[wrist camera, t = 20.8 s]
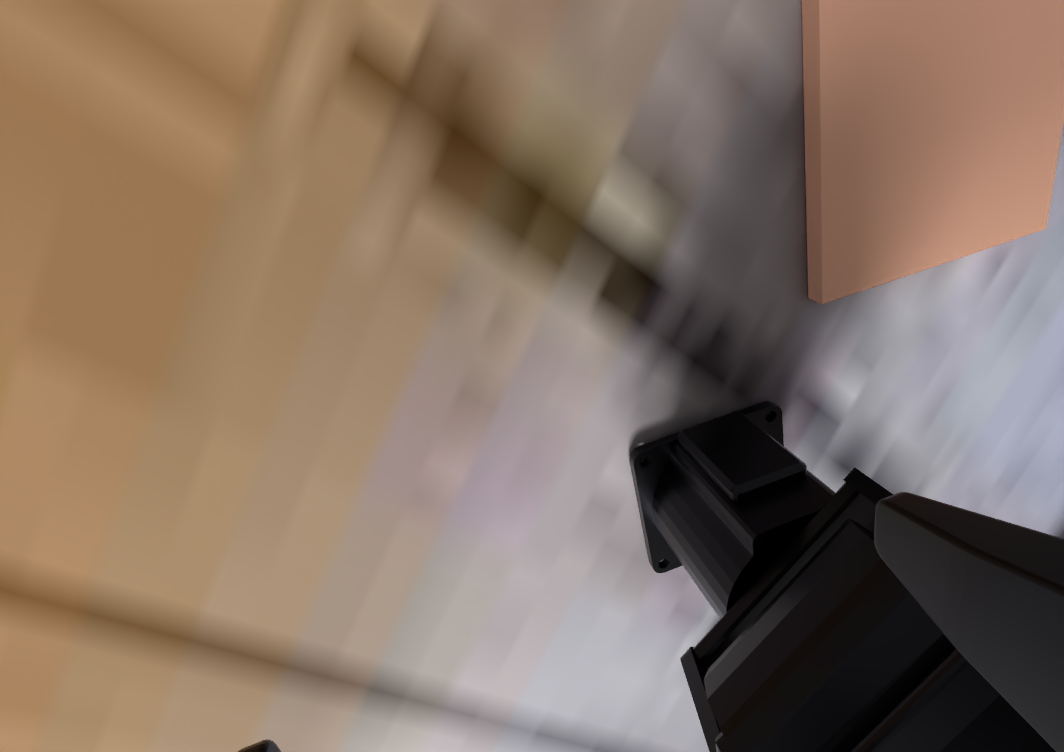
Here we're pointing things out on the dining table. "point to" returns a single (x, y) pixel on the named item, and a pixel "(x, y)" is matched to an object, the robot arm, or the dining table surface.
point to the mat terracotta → (925, 132)
